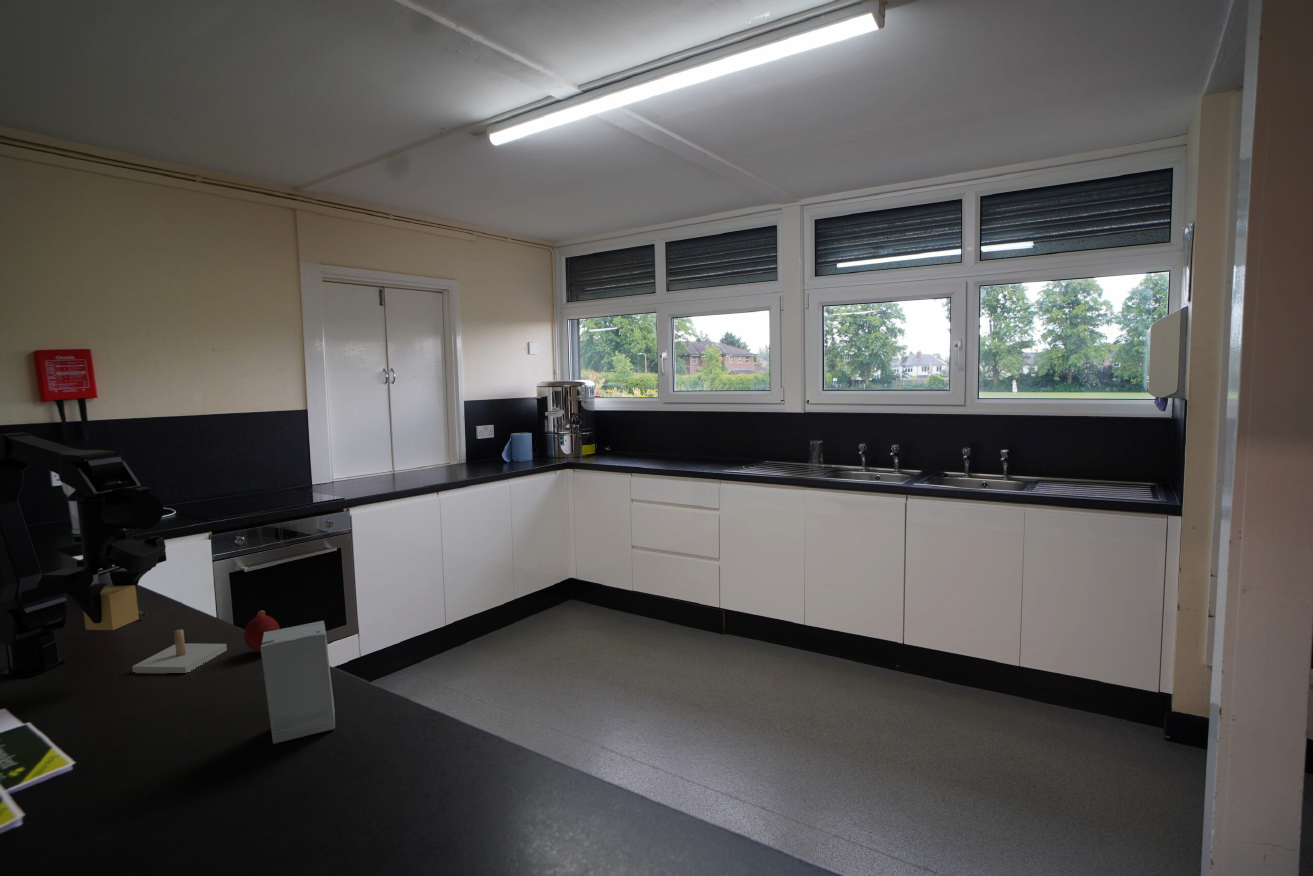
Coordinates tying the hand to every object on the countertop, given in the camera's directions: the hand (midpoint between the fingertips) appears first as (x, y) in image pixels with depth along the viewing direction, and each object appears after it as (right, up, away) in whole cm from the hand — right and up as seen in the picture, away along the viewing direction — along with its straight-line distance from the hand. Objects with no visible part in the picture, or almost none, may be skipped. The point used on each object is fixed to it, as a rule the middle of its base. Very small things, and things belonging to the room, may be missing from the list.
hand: (112, 617), depth 115 cm
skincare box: (+41, -12, -16) cm, 46 cm away
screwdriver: (-29, -9, +38) cm, 49 cm away
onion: (+19, -10, +11) cm, 24 cm away
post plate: (+6, -10, +8) cm, 14 cm away
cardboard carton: (0, -1, 0) cm, 1 cm away
